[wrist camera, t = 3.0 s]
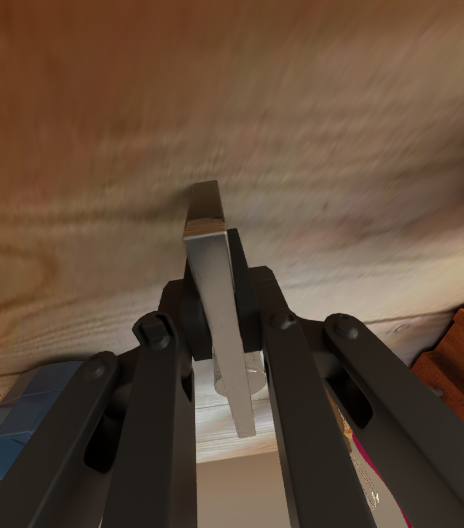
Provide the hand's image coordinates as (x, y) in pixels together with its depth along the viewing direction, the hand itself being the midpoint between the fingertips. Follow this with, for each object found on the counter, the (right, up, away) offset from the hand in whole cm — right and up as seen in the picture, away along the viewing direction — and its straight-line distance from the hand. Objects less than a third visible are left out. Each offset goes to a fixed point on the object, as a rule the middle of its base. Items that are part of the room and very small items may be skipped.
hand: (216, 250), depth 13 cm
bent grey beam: (+1, -4, +5) cm, 6 cm away
